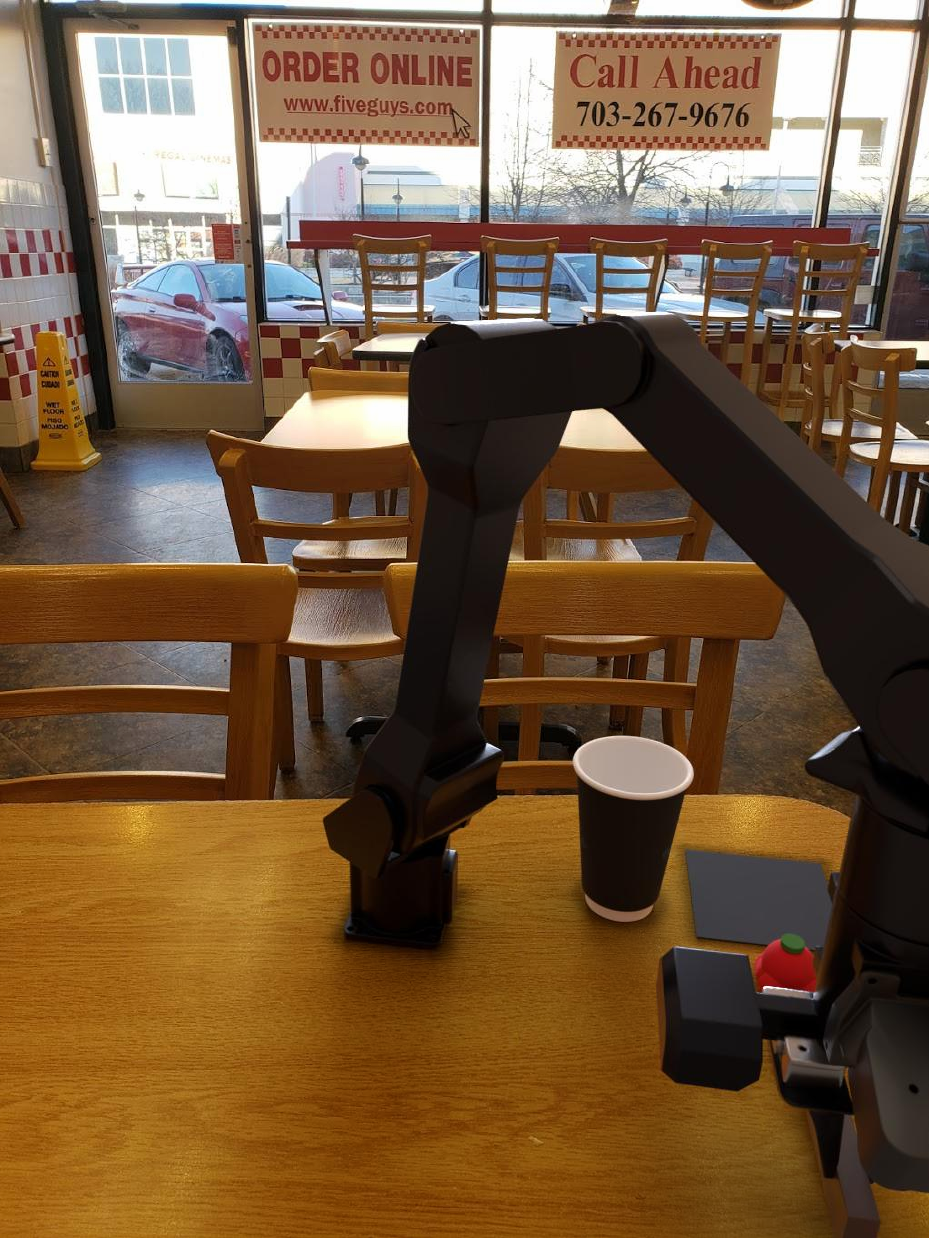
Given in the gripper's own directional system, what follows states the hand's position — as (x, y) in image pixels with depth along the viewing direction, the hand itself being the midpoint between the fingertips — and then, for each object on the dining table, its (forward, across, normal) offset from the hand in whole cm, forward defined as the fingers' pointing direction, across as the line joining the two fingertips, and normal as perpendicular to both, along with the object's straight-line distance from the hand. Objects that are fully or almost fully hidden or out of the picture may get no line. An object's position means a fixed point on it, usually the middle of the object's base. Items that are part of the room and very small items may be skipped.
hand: (844, 1172), depth 44 cm
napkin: (+3, 0, +24) cm, 24 cm away
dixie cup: (+3, -10, +22) cm, 24 cm away
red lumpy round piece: (+3, 0, +15) cm, 15 cm away
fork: (+2, 0, +4) cm, 4 cm away
